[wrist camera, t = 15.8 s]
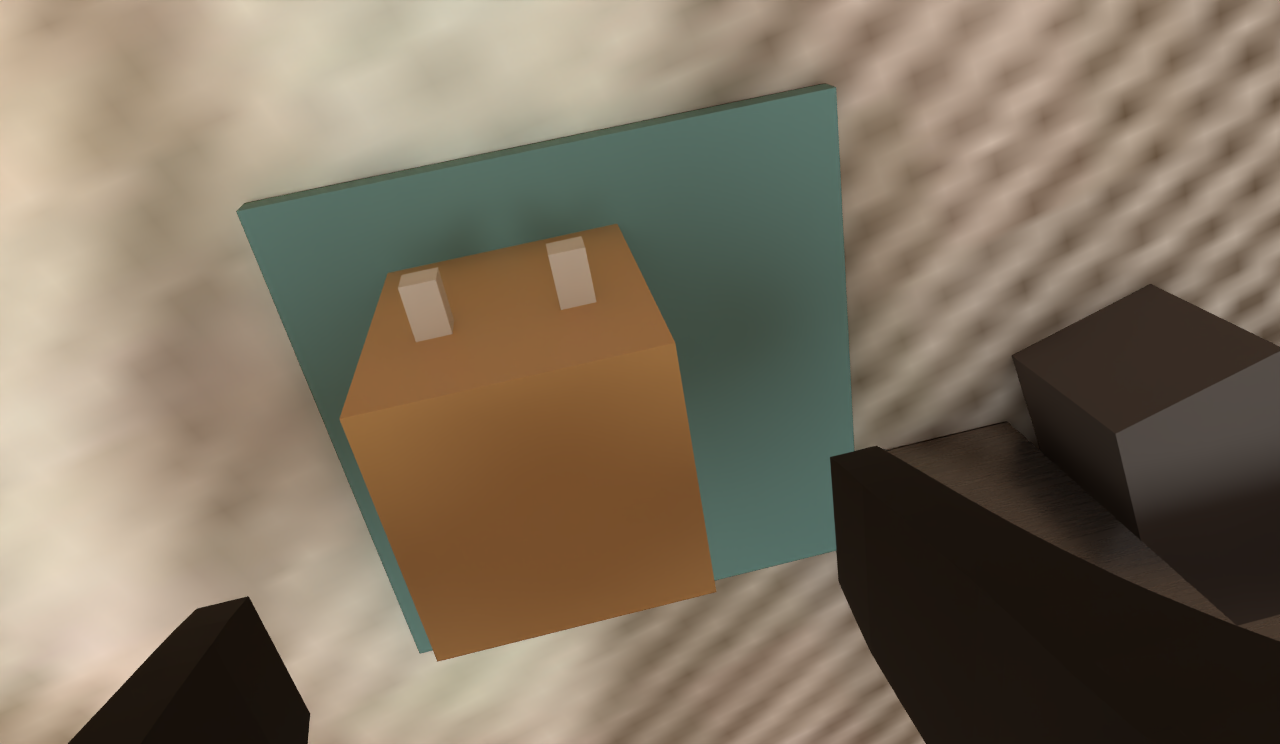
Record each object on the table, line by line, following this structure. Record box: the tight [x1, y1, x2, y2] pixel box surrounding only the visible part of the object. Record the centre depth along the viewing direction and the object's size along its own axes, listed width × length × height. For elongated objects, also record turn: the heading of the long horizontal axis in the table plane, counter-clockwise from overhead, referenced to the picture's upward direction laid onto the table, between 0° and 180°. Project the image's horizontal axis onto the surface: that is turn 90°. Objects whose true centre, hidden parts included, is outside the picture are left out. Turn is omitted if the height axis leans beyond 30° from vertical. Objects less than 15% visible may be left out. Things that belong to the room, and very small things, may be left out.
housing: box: [887, 422, 1280, 641], centre depth 16 cm, size 5×12×7 cm, turn 100°
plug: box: [340, 224, 716, 662], centre depth 12 cm, size 5×4×5 cm
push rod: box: [1012, 284, 1280, 626], centre depth 18 cm, size 10×3×4 cm, turn 27°
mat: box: [236, 84, 854, 653], centre depth 16 cm, size 10×10×1 cm
